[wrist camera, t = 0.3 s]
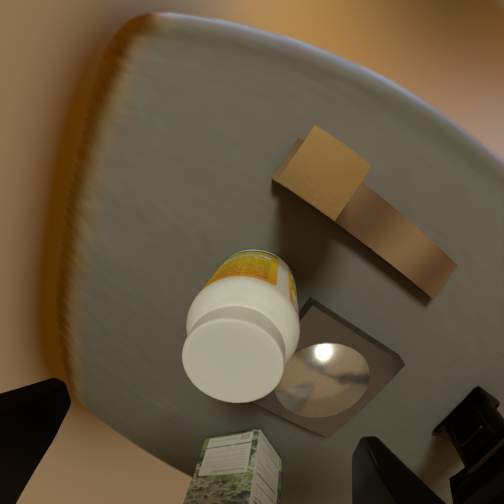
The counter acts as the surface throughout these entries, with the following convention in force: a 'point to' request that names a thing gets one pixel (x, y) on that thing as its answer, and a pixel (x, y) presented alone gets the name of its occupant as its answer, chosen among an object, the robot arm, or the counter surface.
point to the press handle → (324, 173)
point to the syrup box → (236, 471)
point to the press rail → (390, 235)
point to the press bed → (330, 372)
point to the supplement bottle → (242, 328)
